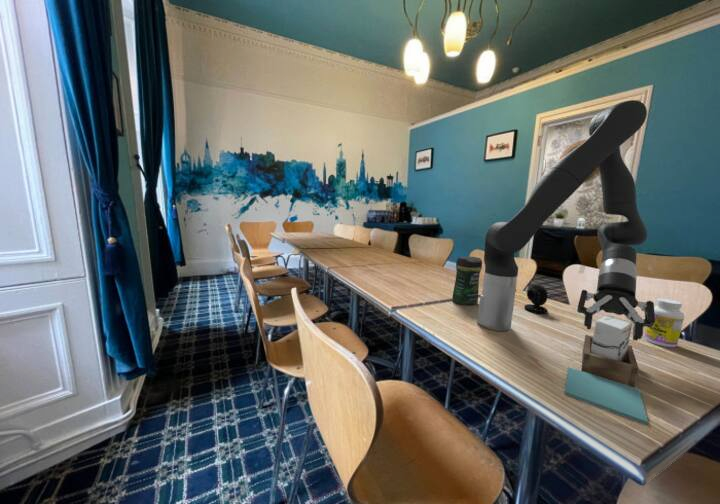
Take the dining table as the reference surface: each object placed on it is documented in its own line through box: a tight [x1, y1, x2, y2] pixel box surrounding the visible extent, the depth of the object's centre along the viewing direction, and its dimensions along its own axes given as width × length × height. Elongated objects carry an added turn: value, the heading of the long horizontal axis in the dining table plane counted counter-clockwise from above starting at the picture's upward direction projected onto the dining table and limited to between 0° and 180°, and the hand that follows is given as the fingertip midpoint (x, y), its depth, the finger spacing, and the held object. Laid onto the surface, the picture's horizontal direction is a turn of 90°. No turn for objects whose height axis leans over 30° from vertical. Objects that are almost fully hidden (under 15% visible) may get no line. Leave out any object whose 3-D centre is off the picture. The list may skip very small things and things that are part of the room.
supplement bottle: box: [644, 297, 685, 348], centre depth 81 cm, size 7×7×13 cm
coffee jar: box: [451, 256, 483, 306], centre depth 110 cm, size 10×8×19 cm
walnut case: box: [581, 334, 639, 388], centre depth 67 cm, size 9×13×4 cm
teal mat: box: [563, 366, 649, 425], centre depth 58 cm, size 12×12×1 cm
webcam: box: [523, 284, 549, 315], centre depth 104 cm, size 8×8×10 cm
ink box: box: [590, 315, 633, 363], centre depth 67 cm, size 9×5×12 cm, turn 123°
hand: (611, 333), depth 68 cm, fingers open, 8 cm apart
